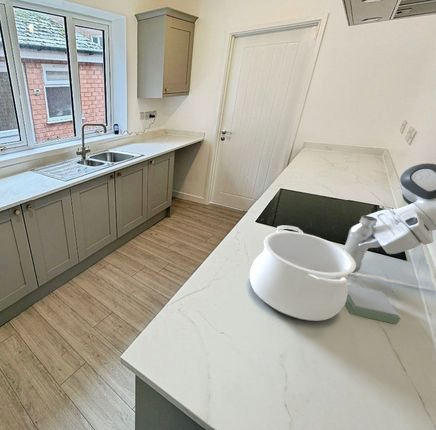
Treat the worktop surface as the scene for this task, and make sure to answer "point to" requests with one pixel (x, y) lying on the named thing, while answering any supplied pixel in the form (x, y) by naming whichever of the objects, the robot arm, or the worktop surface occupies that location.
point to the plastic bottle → (360, 239)
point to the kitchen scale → (370, 304)
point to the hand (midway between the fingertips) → (355, 241)
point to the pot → (302, 275)
